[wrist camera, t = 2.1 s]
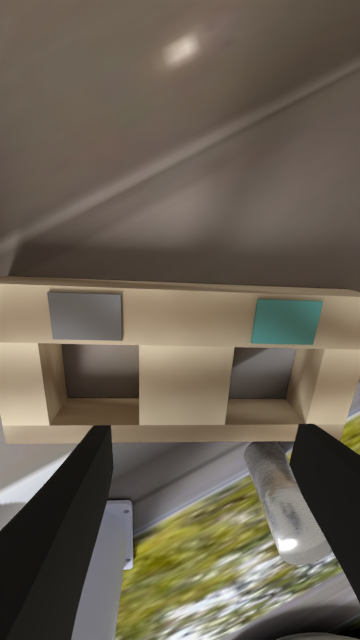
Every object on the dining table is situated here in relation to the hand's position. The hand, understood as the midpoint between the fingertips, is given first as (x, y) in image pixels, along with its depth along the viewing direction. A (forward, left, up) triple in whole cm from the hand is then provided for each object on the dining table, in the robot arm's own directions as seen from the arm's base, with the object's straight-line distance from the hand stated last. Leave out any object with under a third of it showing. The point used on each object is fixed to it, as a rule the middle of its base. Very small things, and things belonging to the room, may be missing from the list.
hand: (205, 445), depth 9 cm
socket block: (-1, 0, -9) cm, 9 cm away
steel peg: (-11, -8, -9) cm, 16 cm away
